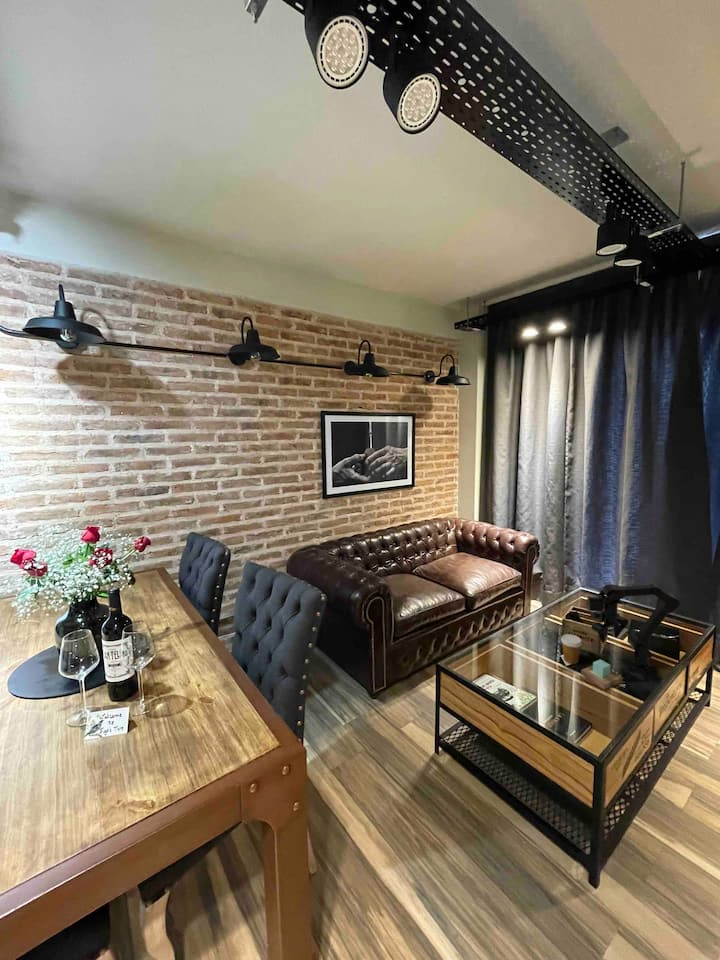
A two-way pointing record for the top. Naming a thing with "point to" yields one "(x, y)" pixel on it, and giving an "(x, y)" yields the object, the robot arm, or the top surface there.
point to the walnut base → (600, 681)
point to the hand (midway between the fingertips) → (609, 640)
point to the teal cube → (601, 668)
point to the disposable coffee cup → (571, 648)
